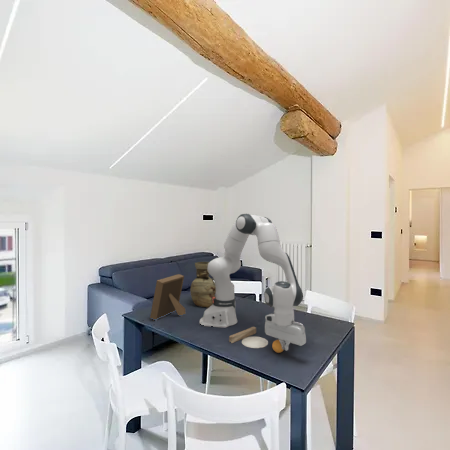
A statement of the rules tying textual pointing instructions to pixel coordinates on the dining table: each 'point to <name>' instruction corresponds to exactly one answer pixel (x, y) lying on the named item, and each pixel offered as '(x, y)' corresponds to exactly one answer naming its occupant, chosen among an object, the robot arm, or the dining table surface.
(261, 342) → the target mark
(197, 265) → the ceramic vessel
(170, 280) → the photo frame
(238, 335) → the bar
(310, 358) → the dining table surface
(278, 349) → the ball
